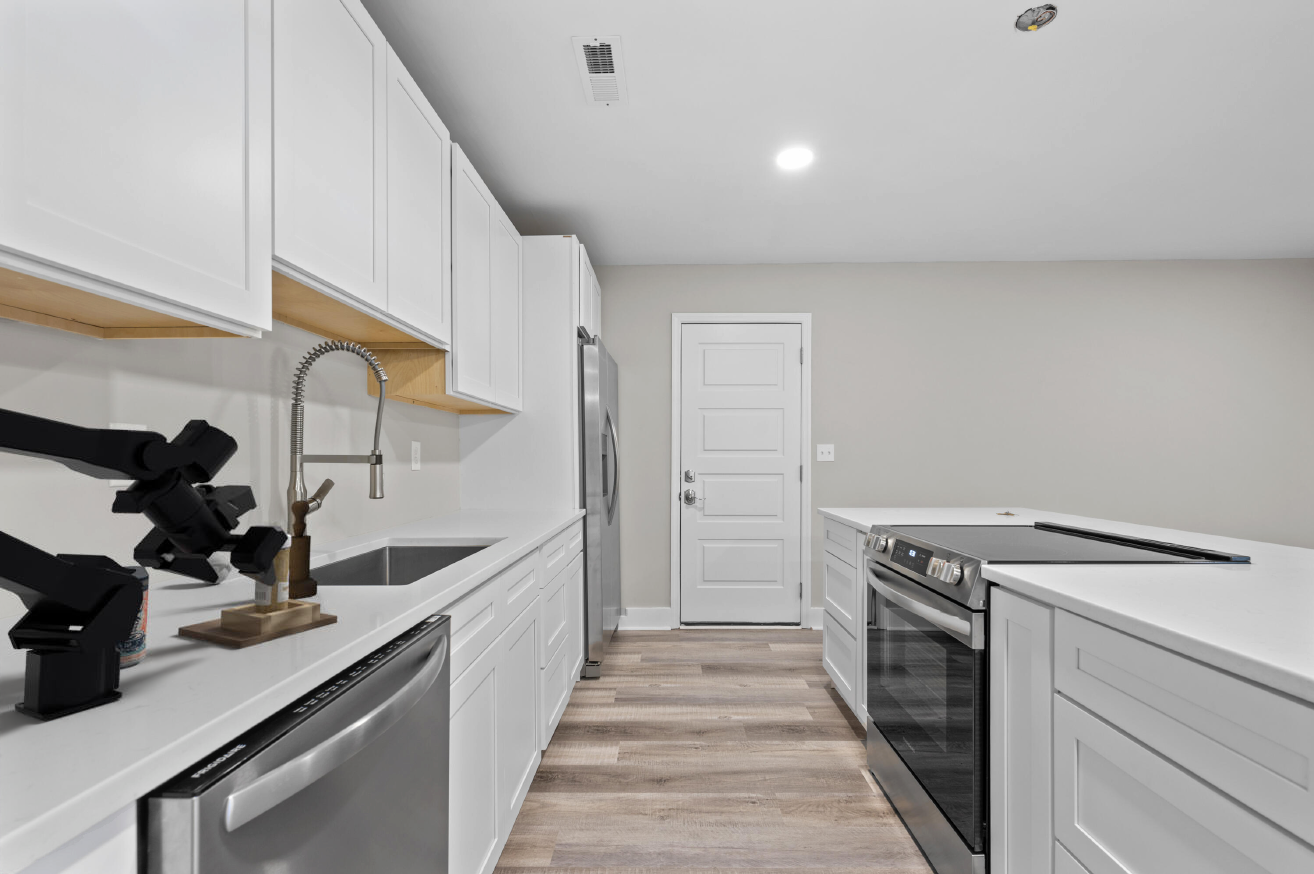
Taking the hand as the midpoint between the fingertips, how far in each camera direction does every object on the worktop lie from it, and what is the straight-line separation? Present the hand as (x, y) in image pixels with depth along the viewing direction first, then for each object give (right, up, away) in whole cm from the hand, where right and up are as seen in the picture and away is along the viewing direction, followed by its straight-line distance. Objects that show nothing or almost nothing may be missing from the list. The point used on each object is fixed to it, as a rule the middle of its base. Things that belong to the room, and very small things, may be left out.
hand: (244, 581), depth 87 cm
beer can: (-8, -8, -11) cm, 16 cm away
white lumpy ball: (-31, -9, +37) cm, 49 cm away
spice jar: (+1, -8, +5) cm, 9 cm away
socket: (-2, -9, +6) cm, 11 cm away
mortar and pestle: (-9, -9, +28) cm, 31 cm away
